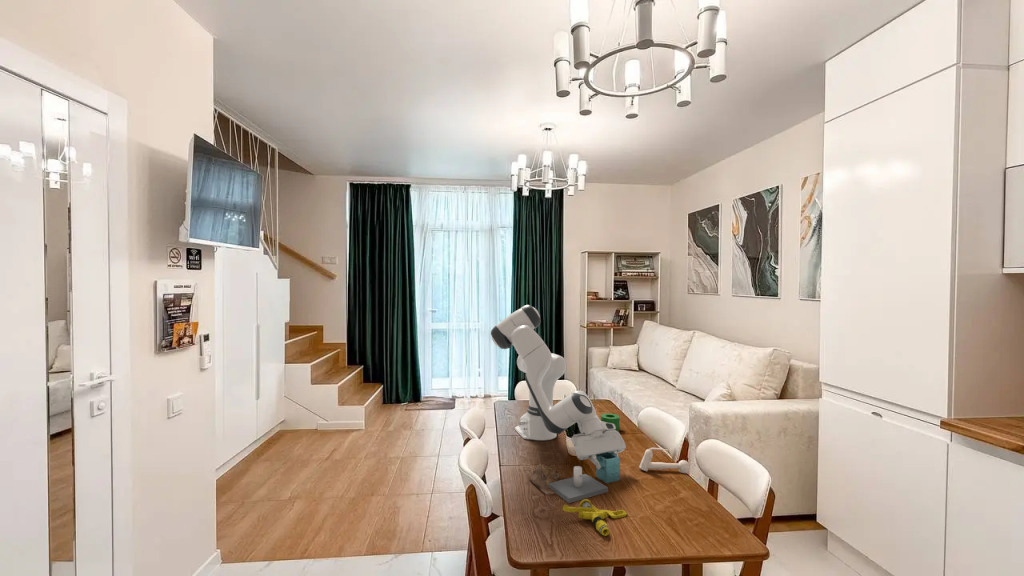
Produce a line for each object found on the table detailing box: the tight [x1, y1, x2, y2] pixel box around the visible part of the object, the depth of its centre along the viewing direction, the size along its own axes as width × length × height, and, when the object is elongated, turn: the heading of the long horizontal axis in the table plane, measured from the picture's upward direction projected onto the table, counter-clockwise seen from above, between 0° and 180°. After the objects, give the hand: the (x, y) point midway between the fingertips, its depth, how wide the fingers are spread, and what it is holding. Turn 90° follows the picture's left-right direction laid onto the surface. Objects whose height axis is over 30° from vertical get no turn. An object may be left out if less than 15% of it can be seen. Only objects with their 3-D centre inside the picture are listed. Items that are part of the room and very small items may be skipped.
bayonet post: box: [548, 465, 609, 504], centre depth 144 cm, size 12×16×8 cm
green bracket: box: [600, 412, 621, 432], centre depth 208 cm, size 18×9×6 cm, turn 97°
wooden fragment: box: [529, 463, 561, 496], centre depth 153 cm, size 26×11×1 cm, turn 179°
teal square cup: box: [595, 452, 621, 484], centre depth 153 cm, size 6×6×8 cm
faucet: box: [639, 447, 691, 474], centre depth 160 cm, size 4×18×10 cm, turn 86°
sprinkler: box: [562, 498, 627, 537], centre depth 124 cm, size 19×4×15 cm
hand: (609, 466), depth 153 cm, fingers closed on teal square cup, 6 cm apart
